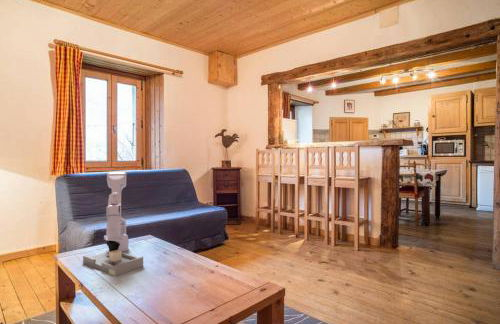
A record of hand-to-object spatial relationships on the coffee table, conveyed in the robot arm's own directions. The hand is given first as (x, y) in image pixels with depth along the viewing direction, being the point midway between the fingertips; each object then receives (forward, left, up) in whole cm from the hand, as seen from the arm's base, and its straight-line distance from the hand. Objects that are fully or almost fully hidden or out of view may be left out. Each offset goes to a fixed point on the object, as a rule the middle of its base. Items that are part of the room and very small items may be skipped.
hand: (113, 255), depth 144 cm
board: (+2, +3, -3) cm, 5 cm away
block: (+1, +3, -1) cm, 4 cm away
